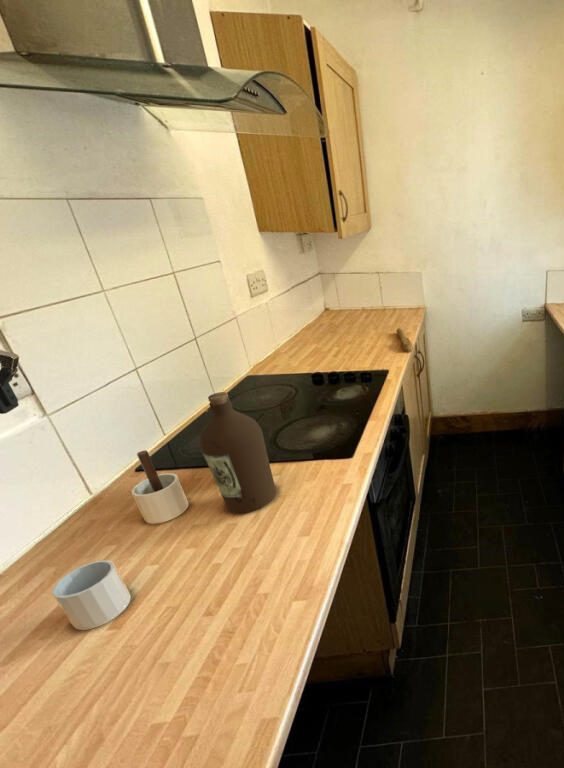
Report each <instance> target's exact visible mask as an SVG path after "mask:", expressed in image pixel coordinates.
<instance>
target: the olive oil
mask: <svg viewBox="0 0 564 768" xmlns="http://www.w3.org/2000/svg"><path fill="white" fill-rule="evenodd" d="M228 394H229V393H228V392H226V391H218V392H215V393H212V394H210V395H209V396H207V399H208V402H209V407H210V410H211V413H212V416H211V417H210V419H209V420H208V422H207V423H206V424H205V426H204V427H203V428H202V430H201V433H200V435H199V448H200V451H201V453H202V455H203V458H204V460H205V462H206V464H207V466H208V468H209V471H210V472H211V475H212V476H213V479H214V481H215V484H216V486H217V489H218V490H219V492H220V495H221V497H222V501H223V502H224V505H225V507H226V510H228V512H231V513H233V514H247V513H252V512H255V511H257V510H260V509H261V508H264V507H265V506H267V505H268V504H270V503H271V502H272V501H273V500H274V498H276V495H277V488H276V483H275V481H274V476H273V473H272V469H271V464H270V460H269V455H268V451H267V447H266V443H265V438H264V433H263V430H262V428H261V426H260V424H259V423H258V422H257V421H256V420H255V419H254V418H252V417H251V416H249V415H247V414H244V413H242V412H239V411H237V410H235V409H234V408H233V405H232V401H231V398H229V395H228Z"/></svg>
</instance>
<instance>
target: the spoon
mask: <svg viewBox="0 0 564 768" xmlns="http://www.w3.org/2000/svg"><path fill="white" fill-rule="evenodd" d="M136 456H137V458H138V460H139V462H140V465H141V467H142V469H143V471H144V474H145V476H146V479H148V480H149V483H150V485H151V487H152V489H153V491H154V492H157V491H160V490H162V489H164V488H163V486H162V484H161V481H160V479H159V477H158V475H159V474H158V473H157V472H158V471H157V470H156V467H155V465H154V463H153V461H152V458H151V455H150V454H149V451H148V450H146V449H145V450H140V451H138V452H137V453H136Z"/></svg>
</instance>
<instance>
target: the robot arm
mask: <svg viewBox="0 0 564 768" xmlns="http://www.w3.org/2000/svg"><path fill="white" fill-rule="evenodd" d="M19 362H20V356H19V354H17V353H13V352H9V351H5V350H1V349H0V414H1V415H5V414H8V413H10V412H11V411H13V410H14V409H16V408H17V407H19V399H18V397H17V396H16V394H15V391H14V390H13V388H12V386H11V384H10V383H11V382H13V378H14V376H15V375H16V374H17V372H18V371H19V369H18V366H19Z"/></svg>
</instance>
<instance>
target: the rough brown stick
mask: <svg viewBox="0 0 564 768" xmlns="http://www.w3.org/2000/svg"><path fill="white" fill-rule="evenodd" d="M396 334H397V335H398V337H399V339H400V341H401V346H402V348H403V350H404V351H406V352H408V353H410V352H412V350H413V347H412V342H411V340H410V339H409V337H406V335H405V332H404V330H403V328H400V327H399V328H398V327H397V328H396Z"/></svg>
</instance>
